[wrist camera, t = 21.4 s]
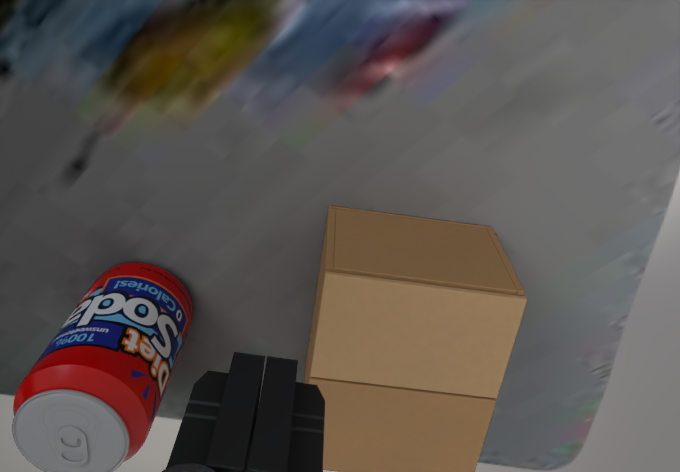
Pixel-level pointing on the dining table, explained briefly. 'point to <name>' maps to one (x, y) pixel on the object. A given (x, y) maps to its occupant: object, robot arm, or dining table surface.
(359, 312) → the flap
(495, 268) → the carton
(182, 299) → the soda can
